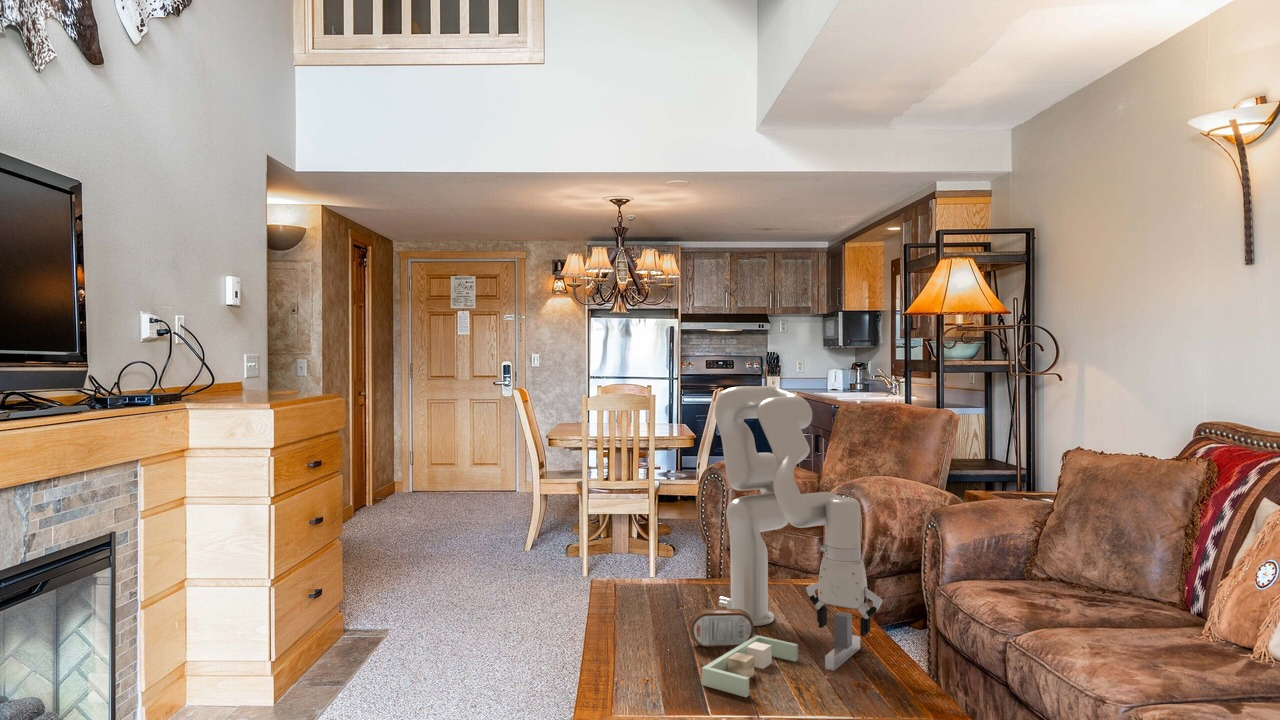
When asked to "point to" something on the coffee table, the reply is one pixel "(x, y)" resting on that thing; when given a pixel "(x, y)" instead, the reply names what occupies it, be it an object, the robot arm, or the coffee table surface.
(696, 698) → the coffee table surface
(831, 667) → the slider lever
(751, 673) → the maple block
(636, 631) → the coffee table surface
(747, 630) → the tin
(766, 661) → the cream block
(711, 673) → the block corral
